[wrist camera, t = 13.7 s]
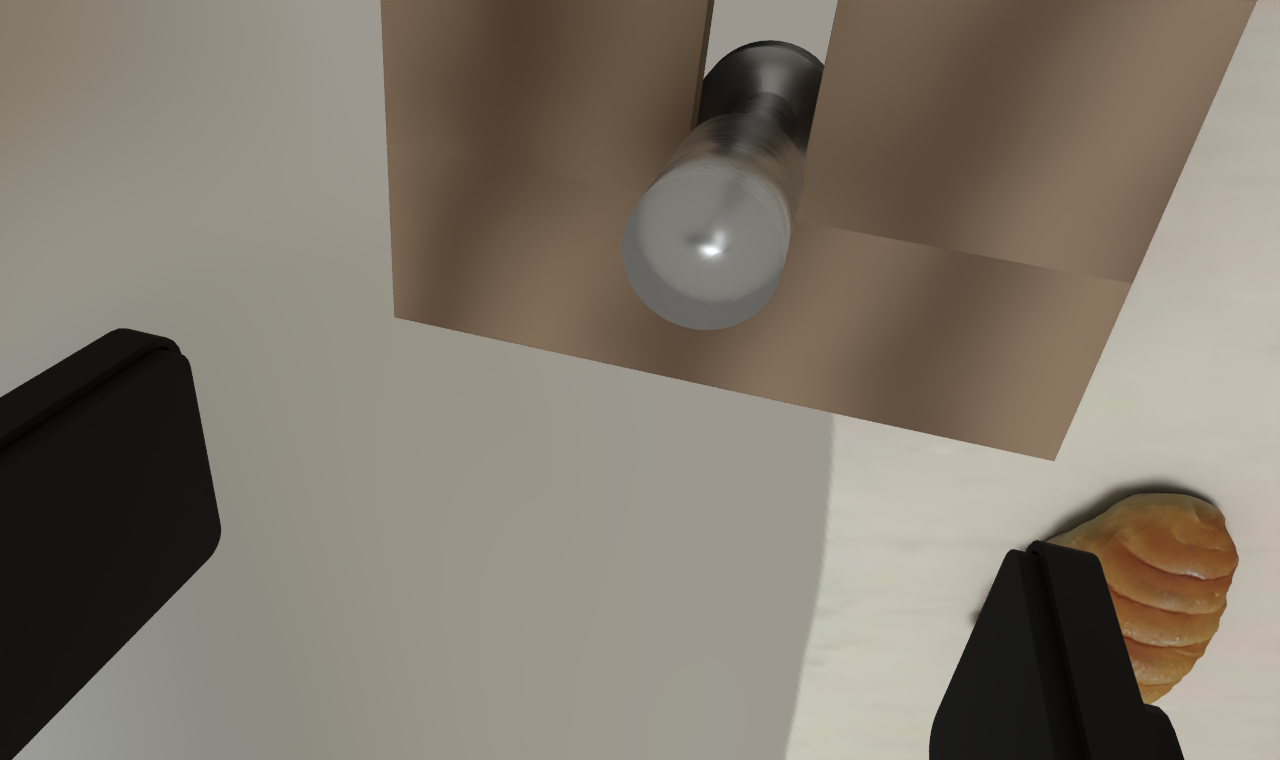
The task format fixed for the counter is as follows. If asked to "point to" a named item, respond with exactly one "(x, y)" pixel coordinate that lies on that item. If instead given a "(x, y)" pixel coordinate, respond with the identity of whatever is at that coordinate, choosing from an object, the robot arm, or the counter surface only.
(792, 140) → the keyhole bolt
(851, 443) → the counter surface
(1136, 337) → the counter surface
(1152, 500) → the pastry
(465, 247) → the keyhole plate
